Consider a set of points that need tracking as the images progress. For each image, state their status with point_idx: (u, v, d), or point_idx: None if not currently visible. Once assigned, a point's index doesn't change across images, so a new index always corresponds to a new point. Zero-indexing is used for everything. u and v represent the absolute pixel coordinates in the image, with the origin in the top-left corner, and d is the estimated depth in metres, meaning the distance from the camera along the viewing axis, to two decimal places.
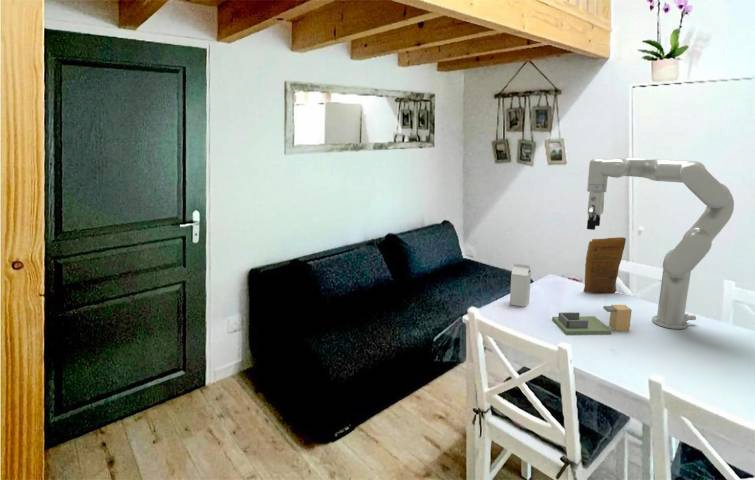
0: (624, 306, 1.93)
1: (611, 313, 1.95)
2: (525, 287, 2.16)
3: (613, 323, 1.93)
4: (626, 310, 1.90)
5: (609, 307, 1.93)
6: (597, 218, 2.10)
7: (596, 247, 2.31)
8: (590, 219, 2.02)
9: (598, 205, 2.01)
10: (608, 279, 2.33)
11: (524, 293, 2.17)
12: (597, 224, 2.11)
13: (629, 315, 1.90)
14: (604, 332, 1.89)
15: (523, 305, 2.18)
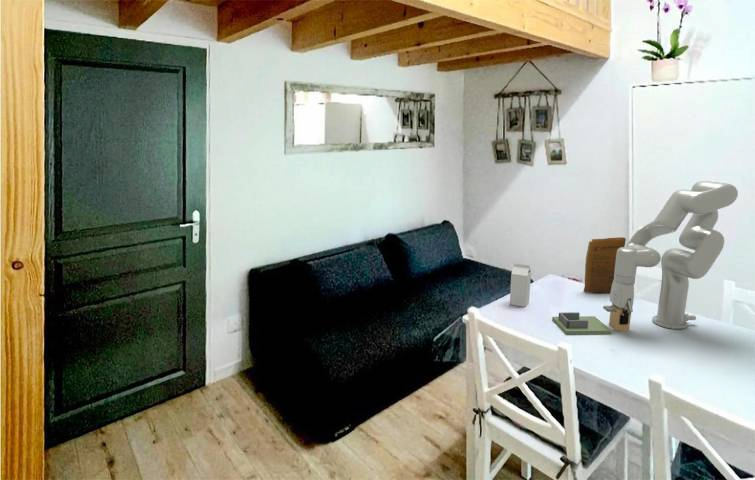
0: None
1: (611, 313, 1.95)
2: (525, 287, 2.16)
3: (613, 323, 1.93)
4: None
5: (608, 307, 1.93)
6: None
7: (596, 247, 2.31)
8: None
9: None
10: (608, 279, 2.33)
11: (524, 293, 2.17)
12: None
13: (629, 315, 1.90)
14: (604, 332, 1.89)
15: (523, 305, 2.18)
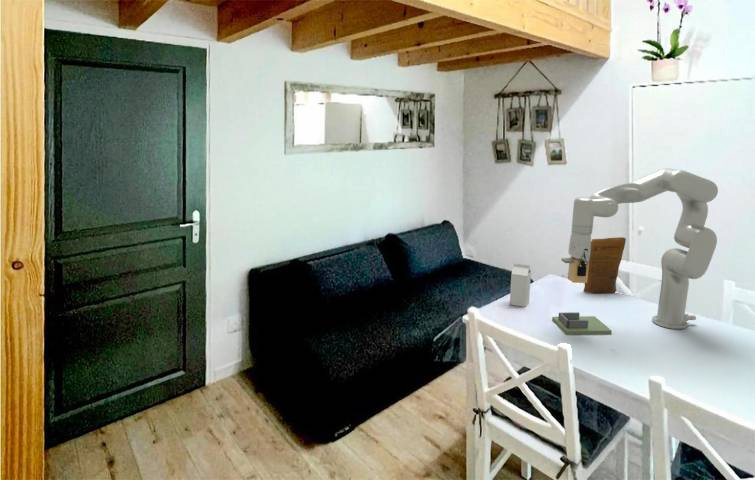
0: None
1: (569, 265, 1.92)
2: (525, 287, 2.16)
3: (571, 275, 1.90)
4: None
5: (566, 259, 1.90)
6: None
7: (596, 247, 2.31)
8: None
9: None
10: (608, 279, 2.33)
11: (524, 293, 2.17)
12: None
13: (587, 266, 1.87)
14: (604, 332, 1.89)
15: (523, 305, 2.18)
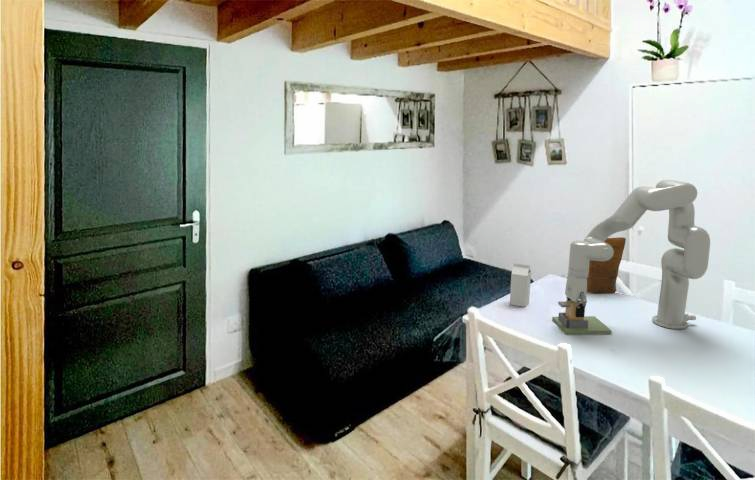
0: (579, 302, 1.94)
1: (566, 308, 1.96)
2: (525, 287, 2.16)
3: (568, 319, 1.95)
4: None
5: (563, 302, 1.94)
6: None
7: None
8: None
9: None
10: (608, 279, 2.33)
11: (524, 293, 2.17)
12: None
13: None
14: (604, 332, 1.89)
15: (523, 305, 2.18)
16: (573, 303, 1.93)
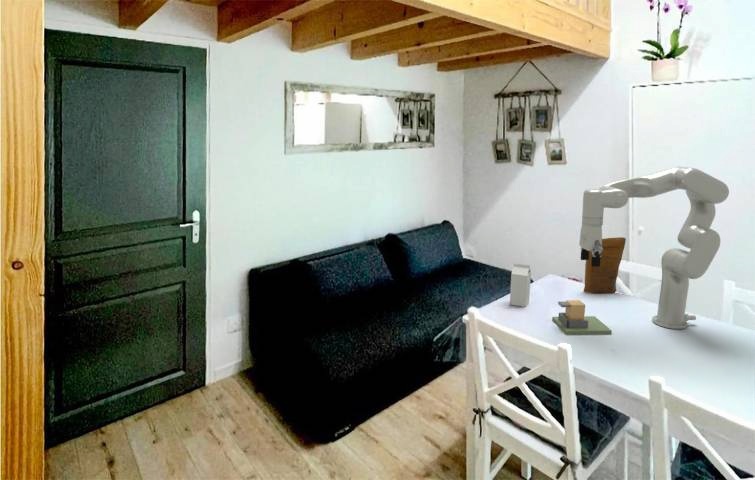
0: (579, 302, 1.94)
1: (566, 308, 1.96)
2: (525, 287, 2.16)
3: (568, 319, 1.95)
4: (580, 305, 1.91)
5: (563, 302, 1.94)
6: None
7: None
8: None
9: None
10: (608, 279, 2.33)
11: (524, 293, 2.17)
12: None
13: (583, 310, 1.91)
14: (604, 332, 1.89)
15: (523, 305, 2.18)
16: (573, 303, 1.93)
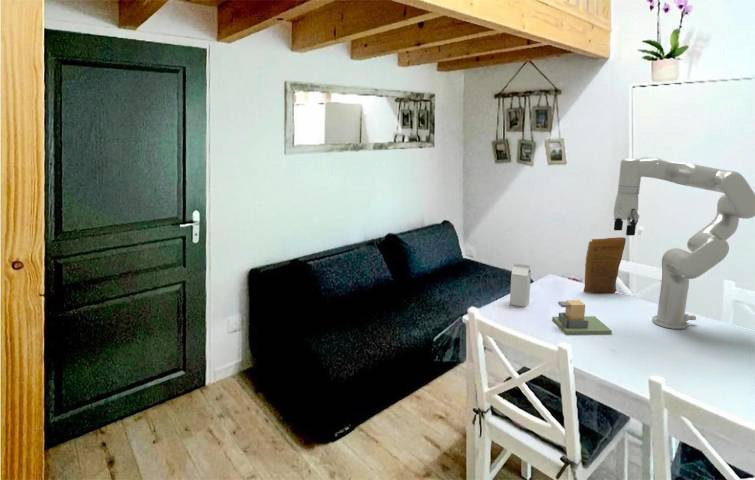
0: (579, 302, 1.94)
1: (566, 308, 1.96)
2: (525, 287, 2.16)
3: (568, 319, 1.95)
4: (580, 305, 1.91)
5: (563, 302, 1.94)
6: None
7: (596, 247, 2.31)
8: None
9: None
10: (608, 279, 2.33)
11: (524, 293, 2.17)
12: None
13: (583, 310, 1.91)
14: (604, 332, 1.89)
15: (523, 305, 2.18)
16: (573, 303, 1.93)
